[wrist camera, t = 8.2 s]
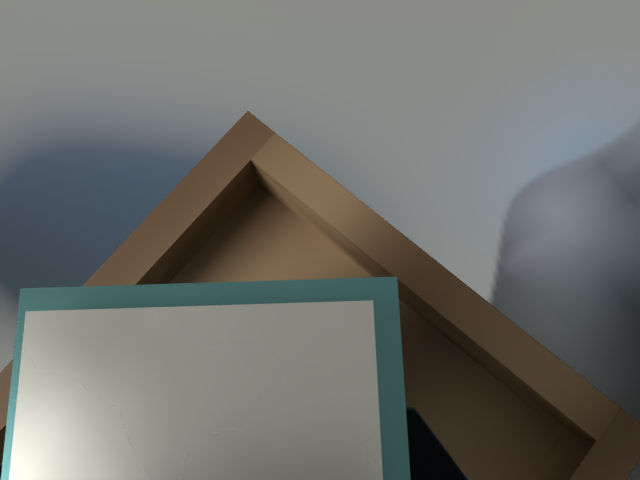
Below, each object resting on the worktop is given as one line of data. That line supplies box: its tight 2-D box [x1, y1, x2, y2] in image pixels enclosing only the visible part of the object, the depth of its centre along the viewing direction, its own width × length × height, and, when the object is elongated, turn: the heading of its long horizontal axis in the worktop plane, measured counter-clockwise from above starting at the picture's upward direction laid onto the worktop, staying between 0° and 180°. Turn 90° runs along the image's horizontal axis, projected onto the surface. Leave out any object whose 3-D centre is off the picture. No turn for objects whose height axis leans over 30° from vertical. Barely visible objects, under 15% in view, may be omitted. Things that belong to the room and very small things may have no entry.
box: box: [0, 111, 640, 480], centre depth 15 cm, size 13×13×3 cm
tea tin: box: [1, 277, 411, 480], centre depth 11 cm, size 4×4×10 cm
